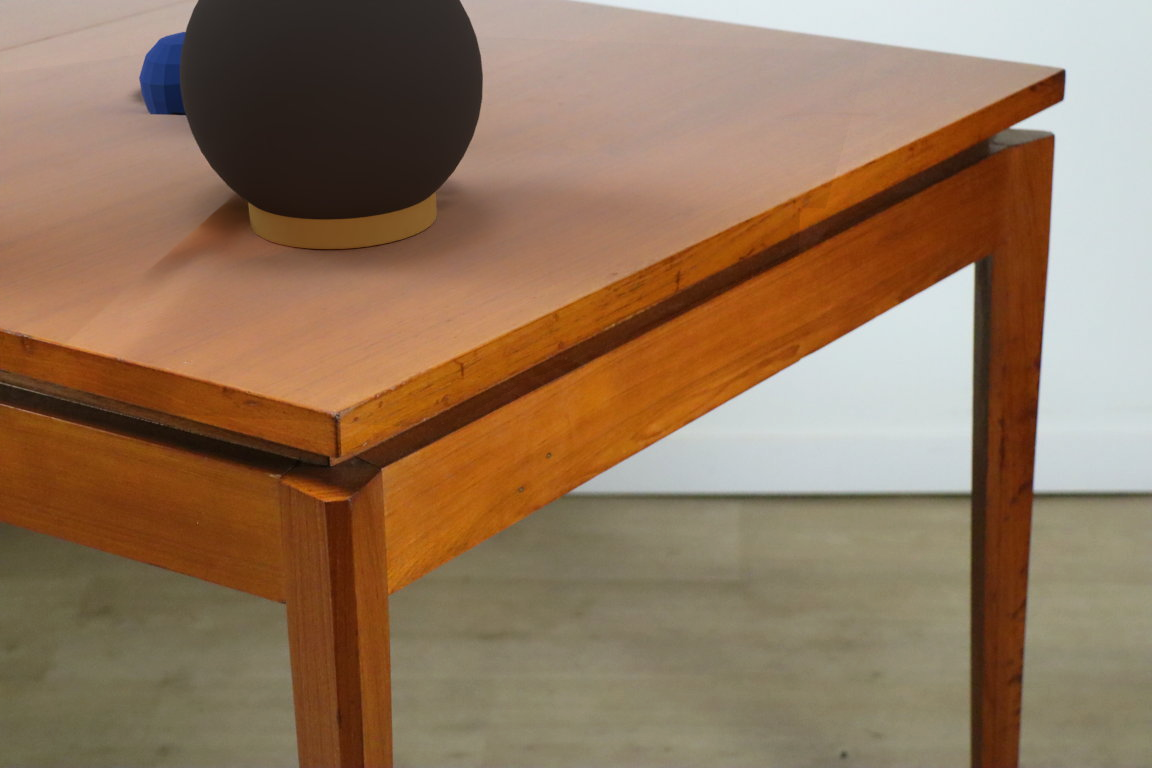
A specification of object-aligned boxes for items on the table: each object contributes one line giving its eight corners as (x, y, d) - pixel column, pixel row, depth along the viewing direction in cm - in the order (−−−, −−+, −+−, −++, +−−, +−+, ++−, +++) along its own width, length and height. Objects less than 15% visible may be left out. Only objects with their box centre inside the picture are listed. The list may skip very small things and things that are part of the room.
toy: (330, 153, 86) (226, 92, 97) (324, 45, 83) (217, -6, 94) (217, 174, 83) (123, 107, 94) (206, 61, 80) (110, 6, 91)
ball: (151, 266, 69) (108, -60, 63) (254, 176, 81) (226, -102, 75) (454, 278, 67) (439, -56, 61) (511, 185, 79) (503, -100, 73)
